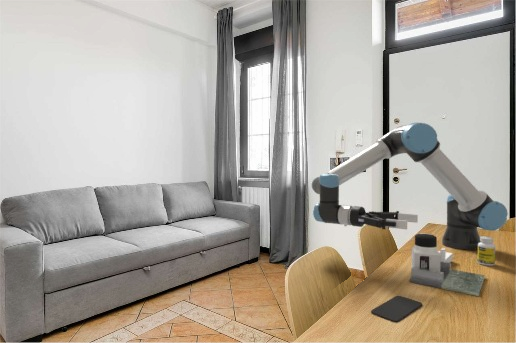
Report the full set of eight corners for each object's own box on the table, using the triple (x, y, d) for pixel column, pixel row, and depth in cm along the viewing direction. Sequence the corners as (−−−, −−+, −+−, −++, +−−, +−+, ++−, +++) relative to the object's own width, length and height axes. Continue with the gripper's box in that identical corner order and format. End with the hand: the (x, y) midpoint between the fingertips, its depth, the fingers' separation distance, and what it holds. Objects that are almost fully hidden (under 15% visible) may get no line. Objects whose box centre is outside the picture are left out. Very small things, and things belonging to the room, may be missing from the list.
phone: (368, 311, 87) (397, 294, 96) (368, 314, 87) (397, 297, 96) (396, 321, 81) (423, 303, 91) (396, 325, 81) (423, 306, 91)
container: (440, 278, 108) (440, 237, 107) (414, 275, 110) (414, 236, 110) (436, 270, 115) (436, 232, 114) (411, 268, 117) (411, 231, 117)
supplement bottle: (476, 264, 124) (476, 237, 124) (478, 260, 128) (479, 235, 128) (493, 267, 121) (494, 240, 120) (496, 263, 125) (496, 237, 124)
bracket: (443, 271, 118) (443, 249, 117) (421, 267, 123) (422, 246, 122) (452, 262, 127) (452, 242, 127) (432, 258, 132) (432, 239, 132)
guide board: (423, 267, 121) (423, 256, 121) (484, 278, 110) (484, 266, 110) (409, 281, 107) (409, 269, 107) (478, 296, 96) (478, 282, 96)
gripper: (364, 220, 137) (421, 226, 124) (338, 231, 118) (402, 240, 105) (364, 202, 137) (421, 206, 124) (338, 210, 118) (402, 216, 104)
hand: (412, 221), depth 114 cm, fingers open, 13 cm apart
